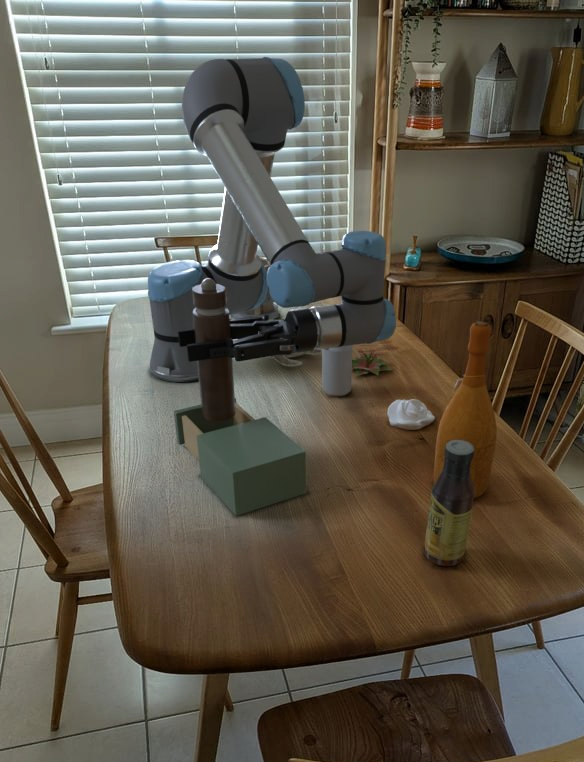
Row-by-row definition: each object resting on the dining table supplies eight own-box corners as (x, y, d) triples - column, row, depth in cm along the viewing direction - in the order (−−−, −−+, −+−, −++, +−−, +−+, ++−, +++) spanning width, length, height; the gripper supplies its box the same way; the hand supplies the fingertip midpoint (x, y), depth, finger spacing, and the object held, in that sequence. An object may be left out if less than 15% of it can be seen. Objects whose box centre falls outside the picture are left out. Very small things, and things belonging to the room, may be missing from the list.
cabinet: (200, 476, 130) (196, 435, 126) (267, 457, 136) (265, 416, 132) (235, 516, 120) (232, 473, 116) (305, 493, 126) (305, 451, 122)
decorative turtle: (243, 346, 181) (241, 326, 178) (306, 338, 185) (306, 319, 182) (262, 375, 167) (261, 354, 164) (330, 366, 171) (331, 345, 168)
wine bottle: (492, 478, 131) (518, 316, 114) (482, 507, 124) (509, 338, 107) (438, 468, 134) (456, 309, 117) (426, 496, 126) (443, 329, 109)
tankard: (231, 307, 204) (228, 252, 195) (277, 306, 205) (275, 251, 196) (231, 333, 187) (227, 274, 179) (280, 332, 189) (278, 274, 180)
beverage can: (348, 399, 157) (349, 346, 150) (319, 396, 158) (319, 343, 151) (353, 387, 162) (355, 335, 155) (325, 384, 163) (325, 332, 156)
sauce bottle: (420, 544, 115) (431, 433, 103) (459, 543, 115) (475, 432, 104) (428, 571, 109) (441, 457, 98) (468, 569, 110) (486, 455, 99)
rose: (388, 388, 151) (434, 390, 151) (386, 408, 154) (433, 409, 154) (388, 410, 143) (437, 412, 143) (387, 430, 146) (435, 432, 145)
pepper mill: (196, 410, 133) (183, 276, 119) (226, 403, 136) (217, 271, 122) (210, 424, 129) (198, 286, 115) (241, 416, 131) (233, 281, 117)
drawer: (174, 439, 139) (171, 408, 136) (232, 424, 145) (230, 393, 141) (206, 474, 129) (202, 441, 125) (267, 456, 135) (265, 424, 131)
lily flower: (401, 374, 168) (403, 356, 165) (353, 382, 164) (354, 363, 162) (380, 355, 177) (381, 337, 174) (334, 361, 173) (334, 343, 171)
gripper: (331, 369, 125) (198, 389, 118) (294, 330, 139) (173, 346, 132) (332, 327, 121) (194, 345, 113) (293, 291, 135) (169, 305, 128)
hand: (183, 345), depth 123 cm, fingers closed on pepper mill, 6 cm apart
